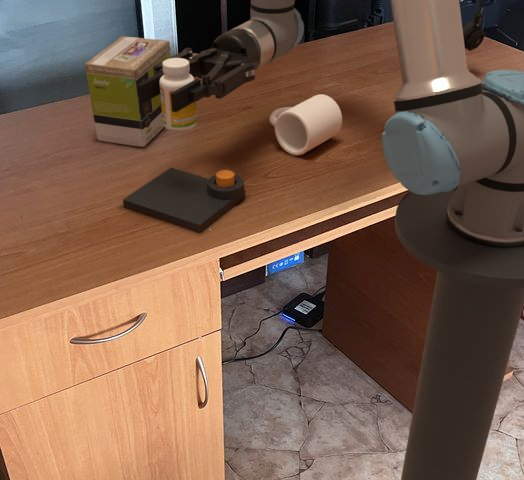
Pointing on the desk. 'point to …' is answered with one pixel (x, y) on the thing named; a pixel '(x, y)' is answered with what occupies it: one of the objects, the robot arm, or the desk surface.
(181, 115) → the supplement bottle
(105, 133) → the tea box
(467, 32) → the headphones
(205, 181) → the dark grey flat block
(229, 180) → the tare button
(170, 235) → the desk surface
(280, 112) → the mug
